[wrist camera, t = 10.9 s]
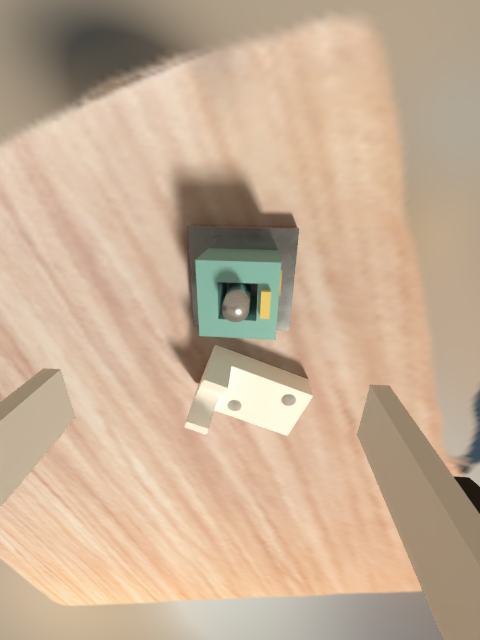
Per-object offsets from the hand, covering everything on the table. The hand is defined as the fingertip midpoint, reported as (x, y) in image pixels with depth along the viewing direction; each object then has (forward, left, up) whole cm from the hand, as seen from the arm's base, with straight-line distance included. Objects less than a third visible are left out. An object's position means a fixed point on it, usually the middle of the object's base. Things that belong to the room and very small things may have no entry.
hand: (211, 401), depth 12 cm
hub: (0, 0, -19) cm, 19 cm away
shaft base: (0, 0, -20) cm, 20 cm away
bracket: (+2, -14, -21) cm, 25 cm away
